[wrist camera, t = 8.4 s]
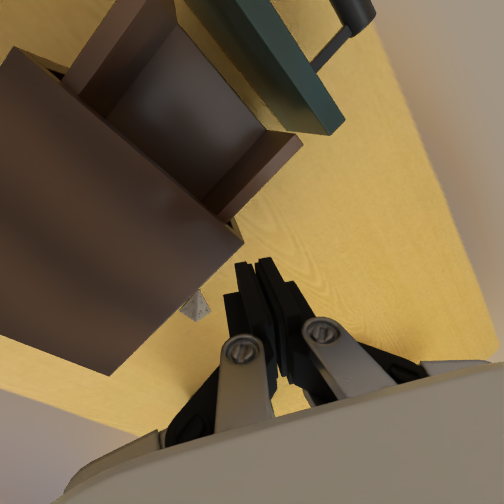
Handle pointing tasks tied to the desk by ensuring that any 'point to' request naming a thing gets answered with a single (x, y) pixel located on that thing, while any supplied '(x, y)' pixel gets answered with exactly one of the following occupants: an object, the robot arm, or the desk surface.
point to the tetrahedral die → (196, 307)
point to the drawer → (210, 90)
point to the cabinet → (90, 226)
